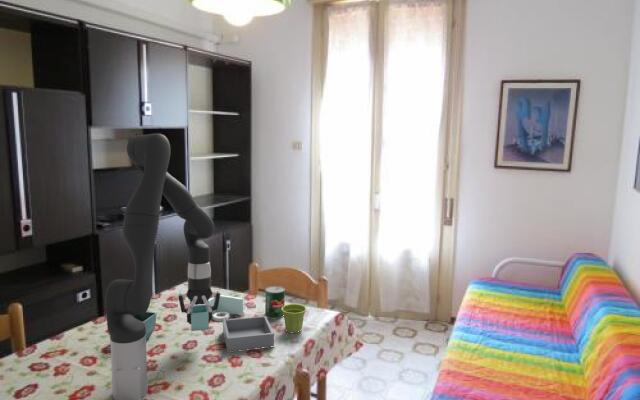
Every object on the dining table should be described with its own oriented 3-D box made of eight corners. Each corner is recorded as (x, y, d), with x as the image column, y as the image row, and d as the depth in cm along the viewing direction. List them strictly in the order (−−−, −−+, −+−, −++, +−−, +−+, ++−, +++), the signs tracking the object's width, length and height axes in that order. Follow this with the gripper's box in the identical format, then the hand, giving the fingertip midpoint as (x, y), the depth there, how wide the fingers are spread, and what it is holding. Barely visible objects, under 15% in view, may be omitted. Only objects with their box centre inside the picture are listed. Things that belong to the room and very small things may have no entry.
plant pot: (276, 331, 173) (276, 309, 172) (289, 323, 181) (289, 302, 180) (297, 337, 169) (298, 315, 167) (310, 328, 177) (310, 306, 176)
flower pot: (144, 346, 158) (143, 322, 157) (121, 343, 160) (120, 319, 159) (157, 335, 167) (157, 312, 166) (136, 333, 169) (135, 309, 167)
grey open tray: (273, 347, 161) (274, 333, 160) (227, 352, 156) (227, 338, 155) (265, 328, 176) (265, 315, 175) (223, 332, 171) (223, 319, 170)
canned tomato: (277, 320, 184) (277, 293, 182) (261, 315, 188) (261, 290, 186) (288, 313, 190) (288, 288, 189) (272, 309, 194) (273, 284, 193)
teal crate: (208, 329, 154) (208, 312, 154) (191, 331, 153) (191, 313, 152) (207, 320, 162) (207, 304, 161) (190, 321, 160) (190, 305, 160)
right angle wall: (201, 322, 181) (201, 304, 180) (217, 311, 192) (217, 294, 191) (228, 327, 177) (228, 308, 176) (243, 315, 188) (243, 298, 187)
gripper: (176, 279, 149) (177, 328, 152) (221, 276, 154) (221, 325, 156) (177, 272, 157) (177, 320, 159) (220, 270, 161) (220, 316, 163)
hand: (199, 322), depth 157 cm, fingers closed on teal crate, 5 cm apart
